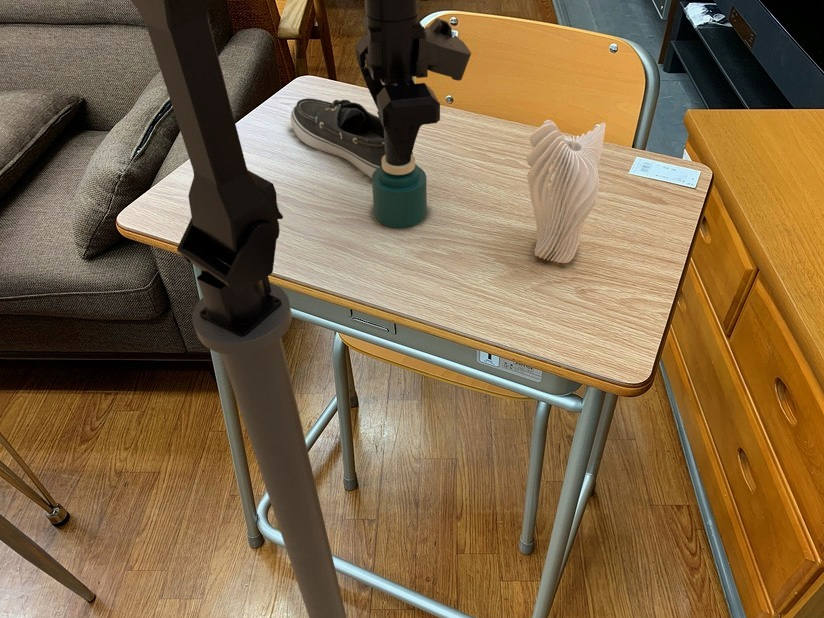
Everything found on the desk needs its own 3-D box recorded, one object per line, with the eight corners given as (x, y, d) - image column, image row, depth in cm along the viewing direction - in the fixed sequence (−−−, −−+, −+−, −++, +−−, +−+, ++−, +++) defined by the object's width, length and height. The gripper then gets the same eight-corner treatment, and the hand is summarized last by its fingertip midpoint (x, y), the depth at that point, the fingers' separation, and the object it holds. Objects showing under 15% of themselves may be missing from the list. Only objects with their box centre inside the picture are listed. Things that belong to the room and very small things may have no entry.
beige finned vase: (592, 239, 85) (620, 106, 72) (579, 278, 80) (607, 142, 67) (529, 226, 87) (546, 94, 74) (513, 263, 81) (528, 127, 69)
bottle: (408, 234, 85) (406, 180, 80) (364, 217, 88) (359, 163, 82) (436, 207, 89) (436, 154, 84) (393, 192, 92) (390, 140, 86)
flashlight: (402, 170, 81) (400, 108, 75) (377, 161, 82) (373, 99, 77) (419, 156, 83) (418, 95, 78) (394, 148, 85) (391, 87, 79)
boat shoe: (323, 111, 108) (318, 68, 103) (434, 171, 96) (434, 124, 91) (279, 130, 104) (271, 85, 99) (389, 194, 91) (387, 147, 86)
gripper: (490, 39, 66) (482, 177, 77) (443, -22, 78) (442, 104, 89) (379, 49, 64) (387, 189, 75) (349, -15, 76) (360, 113, 87)
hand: (397, 145), depth 82 cm, fingers open, 8 cm apart
